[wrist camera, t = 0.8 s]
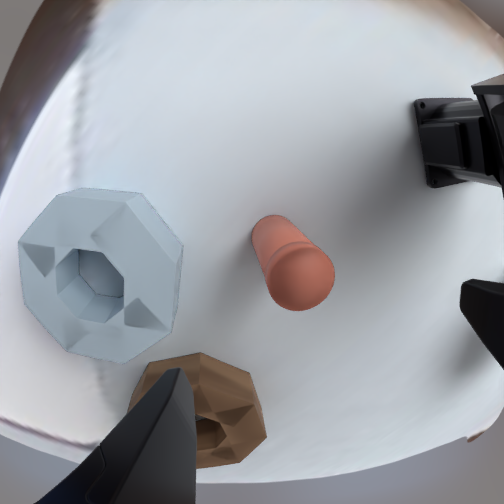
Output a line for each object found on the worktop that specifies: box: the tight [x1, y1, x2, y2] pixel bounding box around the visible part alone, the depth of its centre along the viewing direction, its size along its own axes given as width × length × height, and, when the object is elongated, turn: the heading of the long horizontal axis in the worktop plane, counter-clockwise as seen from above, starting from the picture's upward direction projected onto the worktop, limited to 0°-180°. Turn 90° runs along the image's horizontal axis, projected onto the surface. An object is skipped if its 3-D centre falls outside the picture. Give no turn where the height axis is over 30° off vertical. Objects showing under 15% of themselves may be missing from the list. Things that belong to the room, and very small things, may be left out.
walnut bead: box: [127, 353, 267, 469], centre depth 21 cm, size 10×10×4 cm
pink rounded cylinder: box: [252, 215, 335, 311], centre depth 16 cm, size 3×3×7 cm
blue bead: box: [18, 188, 183, 364], centre depth 17 cm, size 10×10×4 cm
